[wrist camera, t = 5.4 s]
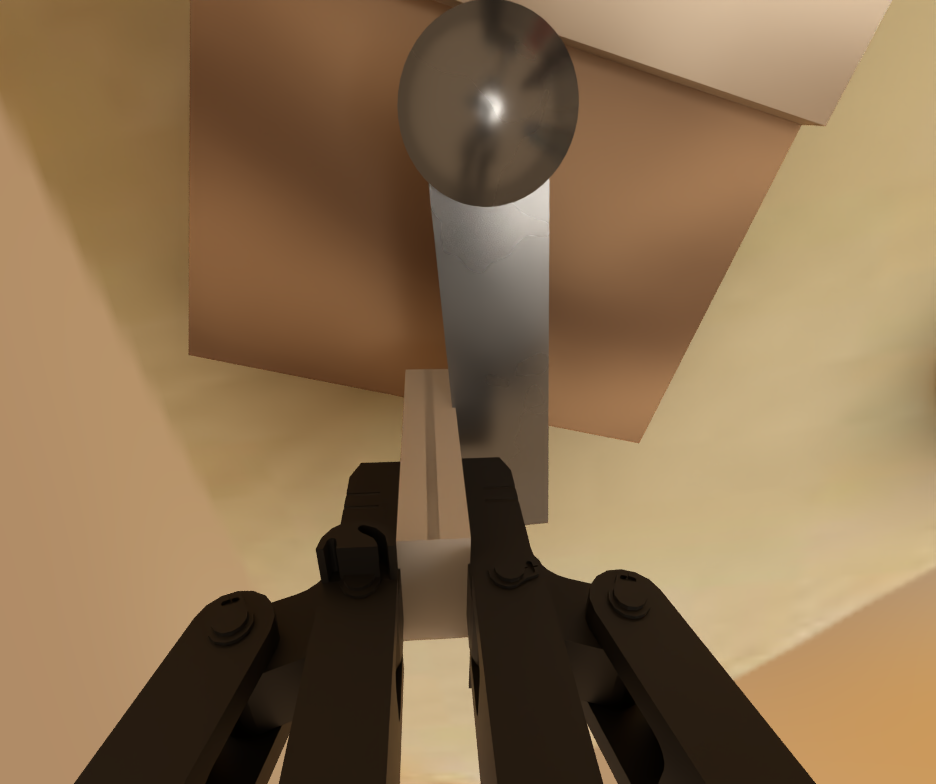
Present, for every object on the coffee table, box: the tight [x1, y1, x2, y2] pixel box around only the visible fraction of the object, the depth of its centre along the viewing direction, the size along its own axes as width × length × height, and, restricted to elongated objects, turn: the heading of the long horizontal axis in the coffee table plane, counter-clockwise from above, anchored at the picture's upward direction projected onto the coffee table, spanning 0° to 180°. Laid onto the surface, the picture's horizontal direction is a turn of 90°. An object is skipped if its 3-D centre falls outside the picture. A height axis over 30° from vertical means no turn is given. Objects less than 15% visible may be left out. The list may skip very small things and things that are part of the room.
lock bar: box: [397, 0, 579, 525], centre depth 13 cm, size 12×3×5 cm, turn 4°
